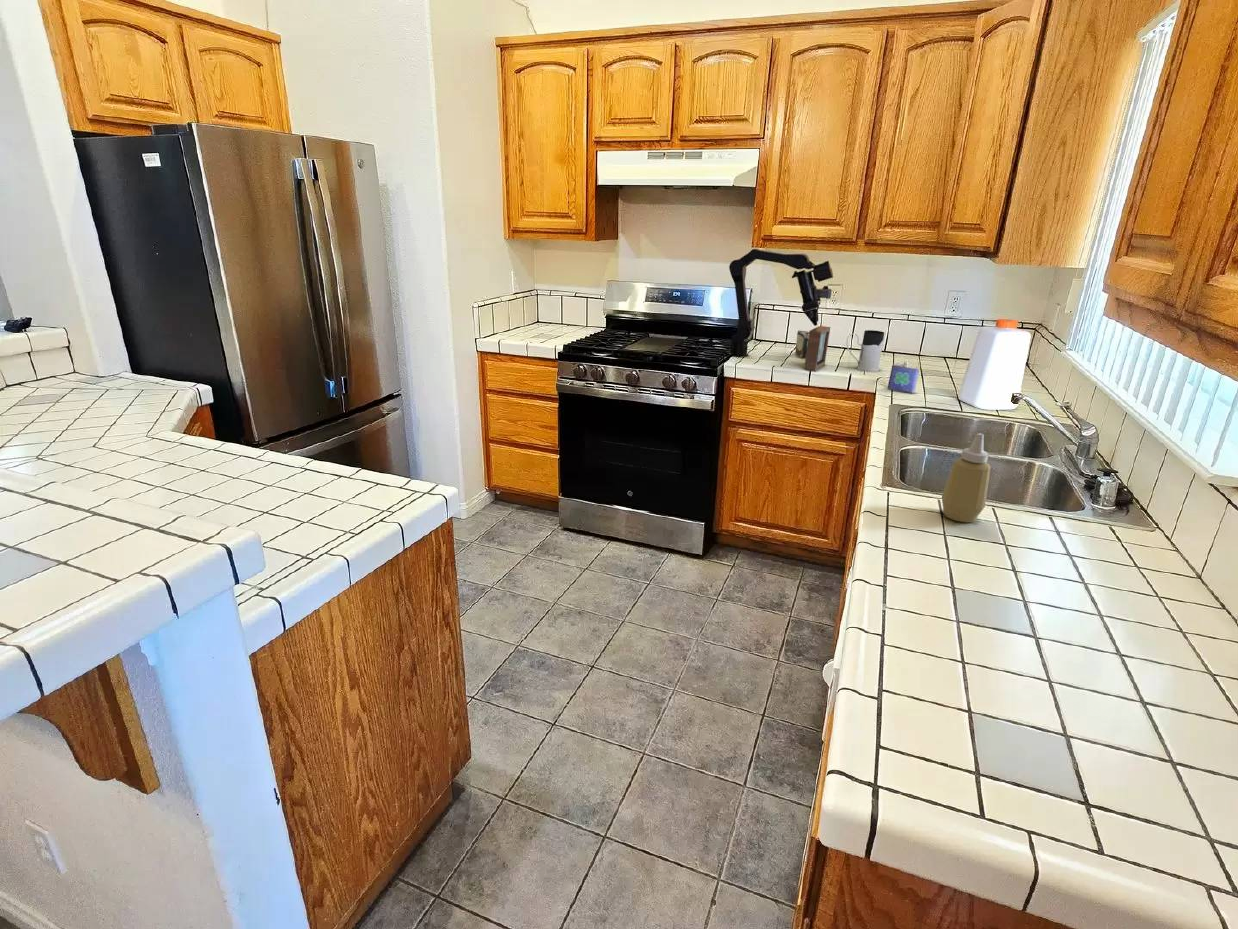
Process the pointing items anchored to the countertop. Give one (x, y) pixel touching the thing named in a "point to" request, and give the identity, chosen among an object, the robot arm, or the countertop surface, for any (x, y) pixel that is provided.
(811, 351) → the window frame
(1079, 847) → the countertop surface
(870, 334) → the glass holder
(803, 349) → the window sash
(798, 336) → the food container
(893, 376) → the flask
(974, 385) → the plastic bottle
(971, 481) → the squeeze bottle
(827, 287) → the robot arm
